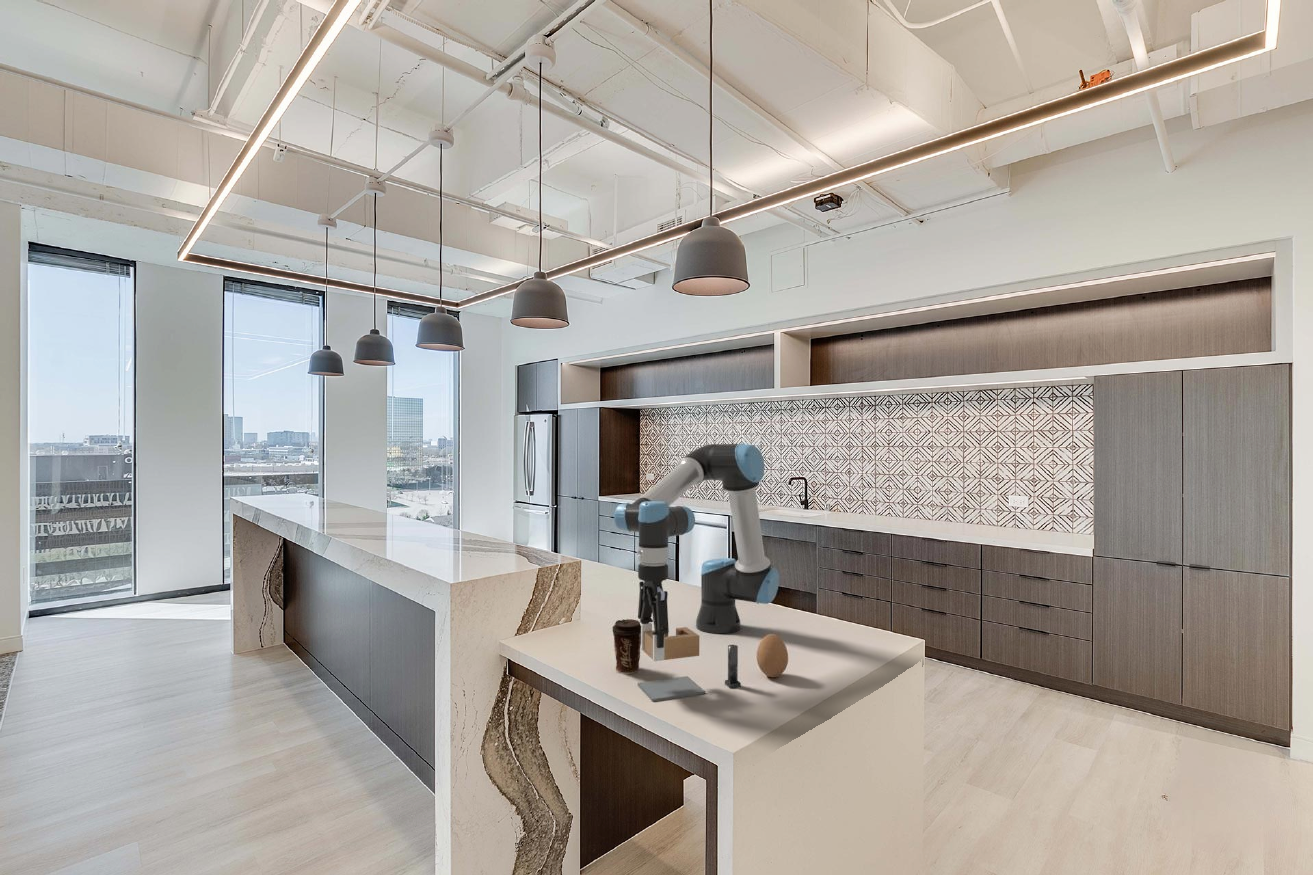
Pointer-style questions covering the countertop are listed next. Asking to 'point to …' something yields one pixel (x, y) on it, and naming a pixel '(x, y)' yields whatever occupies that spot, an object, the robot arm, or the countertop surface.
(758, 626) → the countertop surface
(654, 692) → the mat
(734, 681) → the post stand
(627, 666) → the coffee cup
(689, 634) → the c link
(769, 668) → the egg
